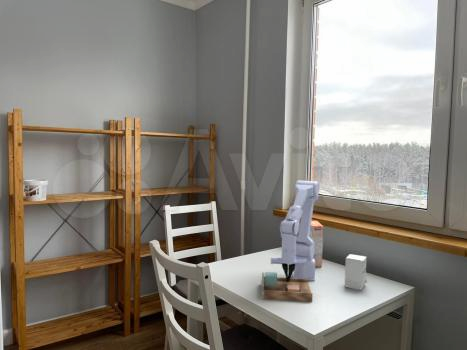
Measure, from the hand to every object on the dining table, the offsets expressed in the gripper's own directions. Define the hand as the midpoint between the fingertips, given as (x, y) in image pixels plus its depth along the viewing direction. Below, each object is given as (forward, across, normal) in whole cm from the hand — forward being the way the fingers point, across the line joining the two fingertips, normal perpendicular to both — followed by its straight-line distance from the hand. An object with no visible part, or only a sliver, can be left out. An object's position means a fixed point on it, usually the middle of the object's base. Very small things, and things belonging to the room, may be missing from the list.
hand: (287, 281), depth 146 cm
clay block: (+3, +2, -7) cm, 8 cm away
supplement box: (+4, +29, +8) cm, 30 cm away
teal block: (+1, -7, 0) cm, 7 cm away
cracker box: (+4, +15, +37) cm, 40 cm away
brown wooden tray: (+3, -1, -3) cm, 5 cm away
